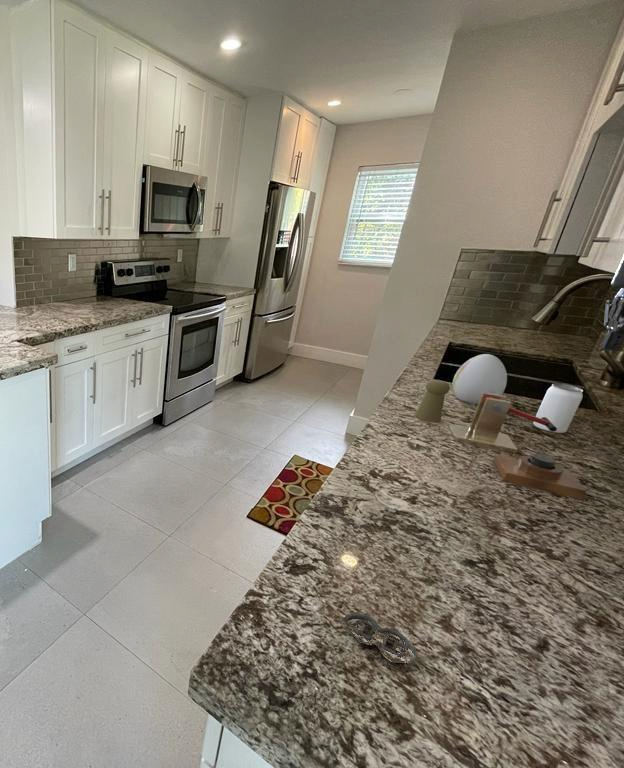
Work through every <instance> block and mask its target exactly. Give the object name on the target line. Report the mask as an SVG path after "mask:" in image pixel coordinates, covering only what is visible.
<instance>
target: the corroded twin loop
mask: <svg viewBox="0 0 624 768" xmlns="http://www.w3.org/2000/svg"><path fill="white" fill-rule="evenodd" d="M352 619H361V620H357V621H356V622H355V623H353V624H352V625H354V626H356V625H357V628H358V627H359V626H358V624H359V625H360V626H362V630H358V629H357V628H356V627H354V629H353V631H354V632H355V633H356V634H357V635H360V636H363V637H364V638H365V639H366V640H367V641H368V640H369V641H370V640H371V638H372V637H371V636H372V635H373V634H375V632H374V628H373V626H375V628H376V630H377V631H378V632H380V633H385V632H386V633H387V632H388V633H391V634H394V635H396V636H398V637H399V638H400V640H399V639H398V638H396V637H394V636H393V635H390V634H385V635H384V636H382V637H383V643H382V648H383V649H384V650H386V651H388V652H391V653H392V654H395V655H397V657H400V658H401V657H403V656H404V654H402V653H400V652H399V651H397V650H396V648H397V646H400V647H402V648H404V651H403V649H402V651H403V652H406V650H408V648H409V649H410V650H411V651H412V653H413V654H414V659H411V660H410V661H408V662H409V663H407V662H406V663H407V664H412V663H416V662H417V661H418V658H419V655H418V653H417V651H416V649H415V647H414V646H413V644H412V643H411V642H410V641H409V639H408V638H407V637H406V636H405V635H404V634H402V633H401V632H399V630H396V629H395V628H389V627H380V625H379V624H378V622H377V621H376V619H374V618H373V617H372V616H369V615H368V614H366V613H360V612H351V613H349V614H347V615H345V617H344V623H345V626H346V627H347V628H346V629H347V630H348V631H349V633H350V632H351V630H350V628H349V625H348V622H347V621H348V620H352ZM363 620H365V621H367V622H368V621H369V622H371V624H372V625H373V626H372V625H371V624H368V623H367V622H365V621H363ZM366 625H368V626H370V627H371V628H372V629H371V628H370V627H369V628H370V631H369V634H366V633H364V629H365V627H366ZM368 626H367V627H368ZM350 634H351V636H352V635H354V637H355V638H356V639H357V640H359V641H360V642H362V643H363V644H369V645H370V644H374V645H375V646H377V647H378V645H377V642H375V643H369V642H363V641H361V640H360V639H358V638H357V637H356V636H355V634H353V633H352V632H351V633H350ZM376 635H377V634H376ZM378 635H379V634H378ZM380 636H381V635H380ZM388 636H389V637H391V638H393V639H395V640H397V641H398V642H397V641H395V642H394V641H393V644H392V646H393V647H392V648H393V649H394V650H393V649H391V648H390V647H388V646H386V643H387V641H388V638H387V637H388ZM354 637H353V638H354ZM355 638H354V639H355ZM373 639H374V638H373ZM375 640H376V639H375ZM403 640H404V641H403ZM399 641H401V642H402V643H403V644H401V643H399ZM378 642H379V641H378ZM404 642H405V645H404ZM380 643H381V642H380ZM377 647H376V648H377ZM378 649H379V650H380V648H379V647H378ZM405 649H406V650H405ZM380 651H381V650H380ZM396 651H397V652H398V653H400V654H398V653H396ZM381 652H382V653H383V651H381ZM383 654H384V653H383ZM384 655H385V654H384ZM385 656H386V655H385ZM386 657H387V656H386ZM387 658H388V659H390V658H389V657H387ZM390 660H391V661H393V662H398V663H402V662H403V663H404V662H405V661H394V660H392V659H390Z"/></svg>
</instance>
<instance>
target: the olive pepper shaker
mask: <svg viewBox="0 0 624 768" xmlns="http://www.w3.org/2000/svg"><path fill="white" fill-rule="evenodd" d="M450 386H451V385H450V384H449V383H448V382H446V381H444V380H439V379H429V380H428V381H427V383H426V384H425V390H426V391H425V394H424V395H423V397H422V400H421V401H420V404H419V405H418V407H417V409H416V411H415V413H414V416H415V417H416V418H418V419H420V420H421V421H426V422H430V423H440V422H441V421H442V415H443V409H444V404H445V403H444V402H445V397H446V395H447V394H448V393H449V392H450V390H451V387H450Z"/></svg>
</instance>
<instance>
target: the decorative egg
mask: <svg viewBox="0 0 624 768" xmlns="http://www.w3.org/2000/svg"><path fill="white" fill-rule="evenodd" d="M507 383H508V375H507V369H506V367H505V365H504V363H503V362H502V361H501V359H499V358H498V357H497V356H495V355H493V354H490V353H483V354H478V355H476V356H474V357H471V358H469V359H468V360H466V361H465V362H464V363H463V364H462V365H461V366H460V367H459V368H458V369H457V370H456V373H455V374H454V375H453V379H452V392H453V394H454V396H455V397H456V399H458V400H460V401H462V402H464V403H468V404H472V405H477V406H478V403H479V401H480V398H481V395H482V393H483V392H485V393H491V394H497V395H503V394H504V392H505V389H506V388H507Z"/></svg>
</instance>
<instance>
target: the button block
mask: <svg viewBox="0 0 624 768" xmlns="http://www.w3.org/2000/svg"><path fill="white" fill-rule="evenodd" d="M531 456H532V455H521V456H520V457H518V458H517V457H512V456H507V455H502V454H497V453H495V455H494V457H493V460H492V464H493V466H494V468H495V469H496V471H497V474H498V475H499V477H500V478H501V480H502V482H505V483H509V484H514V485H517V486H521V487H524V488H530V489H535V490H539V491H543V492H546V493H547V492H548V493H552V494H555V495H558V496H559V495H560V496H564V497H569V498H573V499H577V500H581V501H582V500H583V498H584V496H586V495H585V494H586V493H587V490H586V488H585V487H584V486H583V485H582V484H581V482H579V480H578V479H577V478H576V477H575V475H573V473H572V472H571V471H570V469H568V468H563V467H562V466H560V464H557V463H555V465H554V467H553V469H545V468H541V467H538V466H535V465H533V464H531V463H529V460H530V458H531Z"/></svg>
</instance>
